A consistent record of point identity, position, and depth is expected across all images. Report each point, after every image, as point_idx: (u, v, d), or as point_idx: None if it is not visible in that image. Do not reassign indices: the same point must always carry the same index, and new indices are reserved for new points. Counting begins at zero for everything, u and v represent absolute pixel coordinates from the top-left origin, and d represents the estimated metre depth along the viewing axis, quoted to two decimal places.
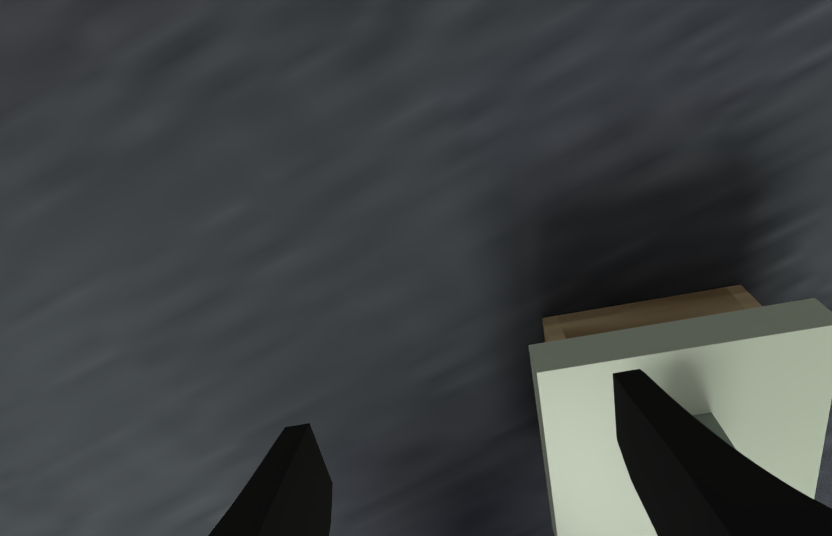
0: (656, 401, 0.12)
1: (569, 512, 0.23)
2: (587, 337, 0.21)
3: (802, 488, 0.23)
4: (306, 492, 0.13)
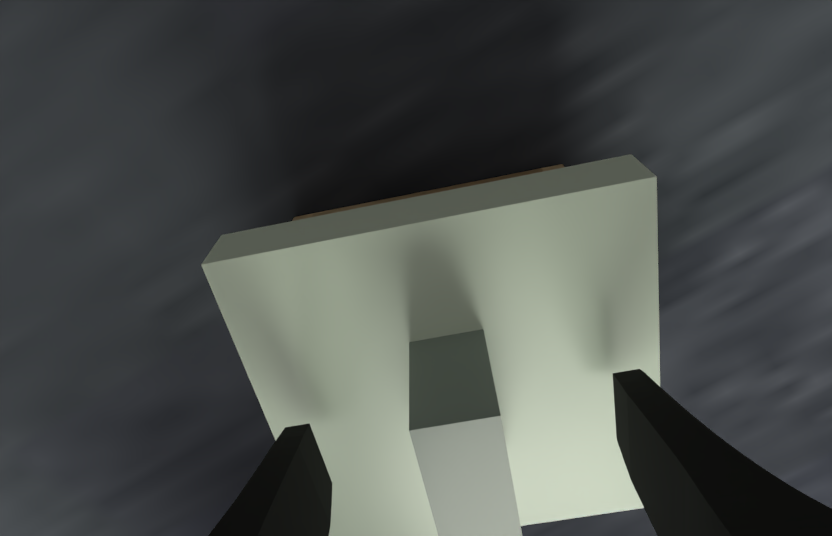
0: (656, 401, 0.12)
1: None
2: (303, 220, 0.14)
3: None
4: (306, 491, 0.13)
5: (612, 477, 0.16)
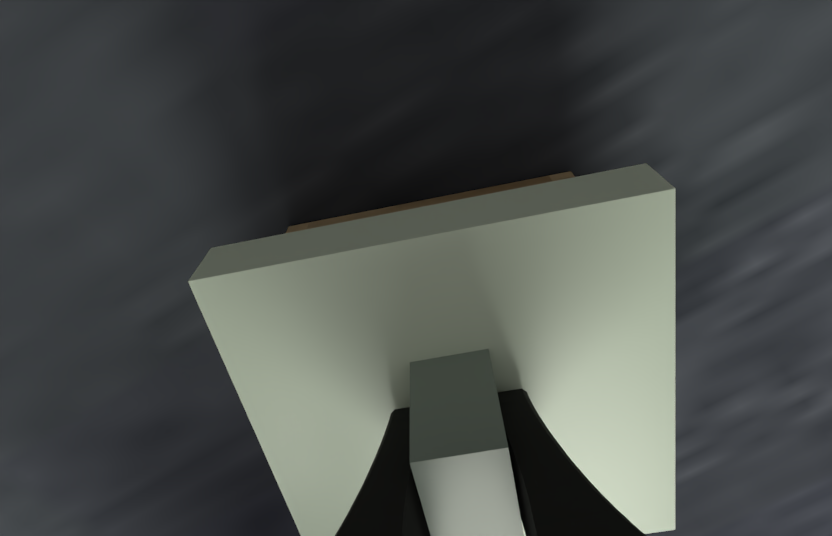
0: (524, 422, 0.12)
1: (311, 509, 0.16)
2: (297, 232, 0.13)
3: (654, 471, 0.15)
4: None
5: (623, 501, 0.15)
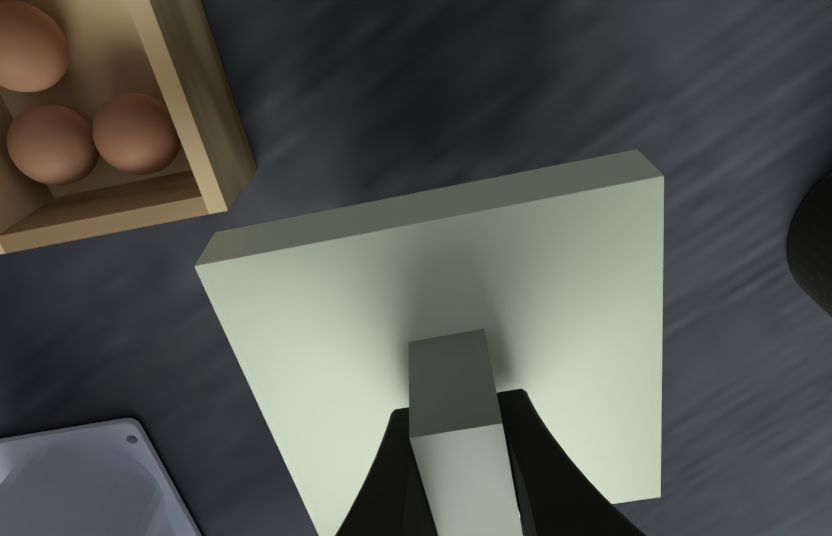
0: (523, 422, 0.12)
1: (315, 480, 0.16)
2: (298, 217, 0.14)
3: (641, 442, 0.16)
4: None
5: (611, 470, 0.16)
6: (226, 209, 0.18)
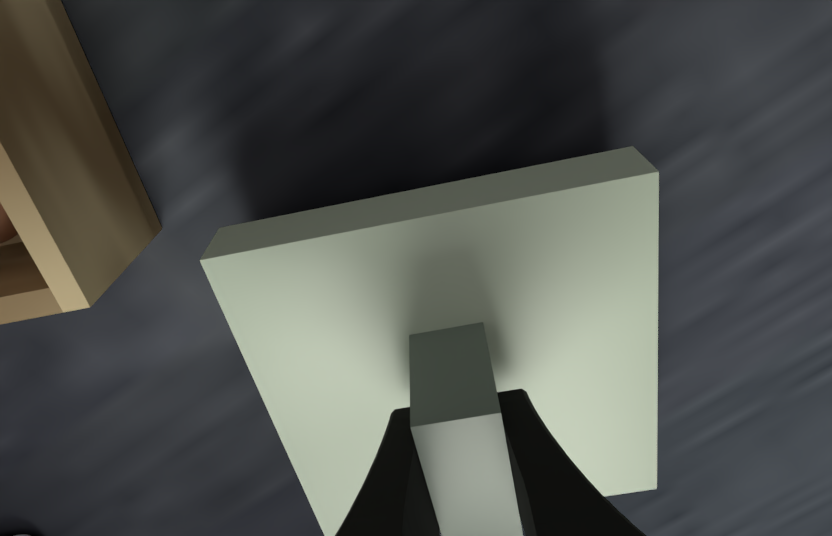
0: (523, 422, 0.12)
1: (317, 472, 0.17)
2: (301, 213, 0.14)
3: (638, 434, 0.16)
4: None
5: (608, 463, 0.17)
6: (88, 305, 0.12)
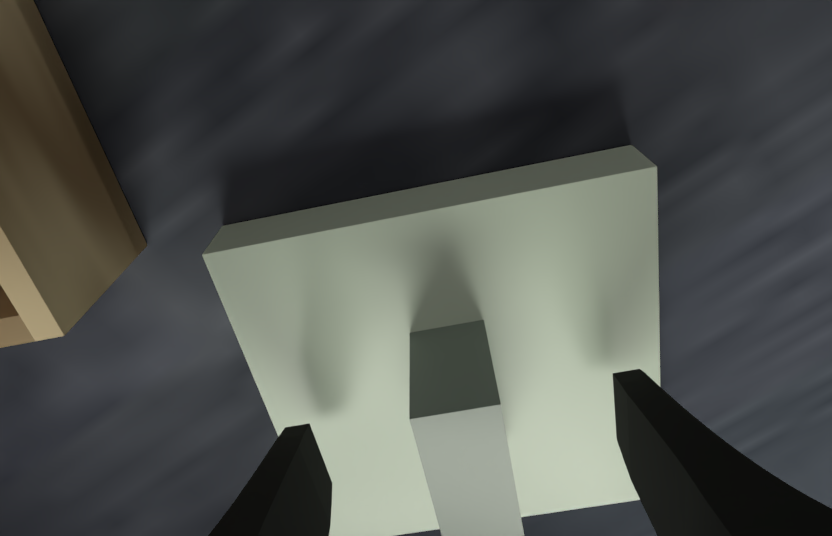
0: (656, 401, 0.12)
1: None
2: (303, 211, 0.14)
3: None
4: (306, 491, 0.13)
5: (612, 468, 0.16)
6: (62, 334, 0.11)
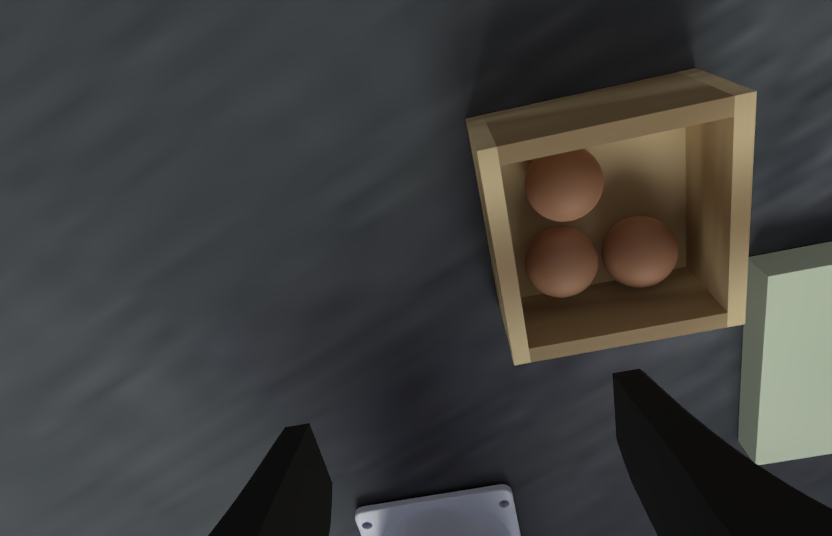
0: (656, 401, 0.12)
1: (772, 416, 0.25)
2: (802, 248, 0.23)
3: None
4: (306, 491, 0.13)
5: None
6: (744, 323, 0.20)
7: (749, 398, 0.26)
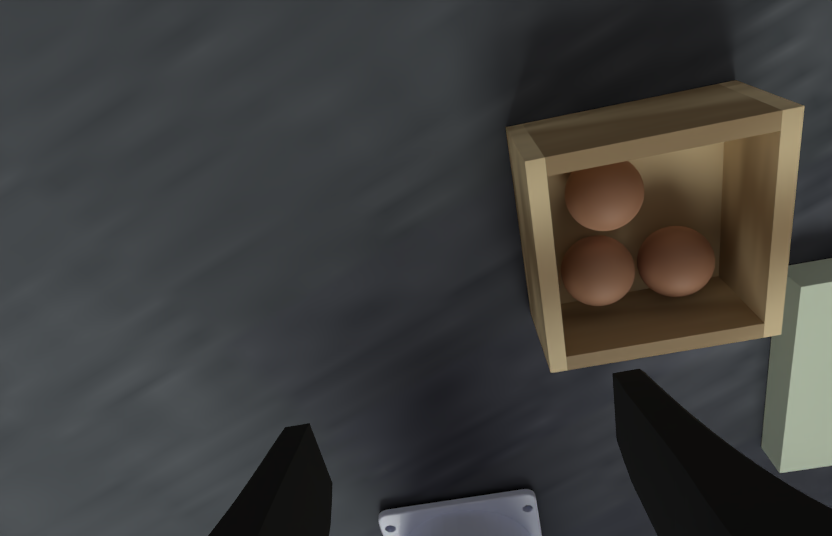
0: (656, 401, 0.12)
1: (798, 424, 0.26)
2: None
3: None
4: (306, 491, 0.13)
5: None
6: (780, 333, 0.20)
7: (775, 406, 0.26)
